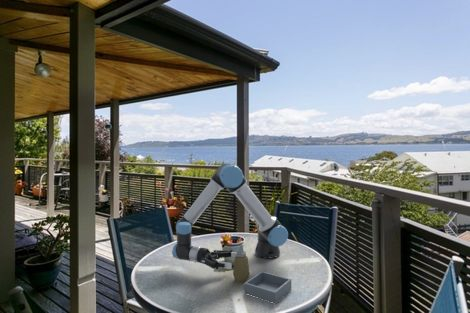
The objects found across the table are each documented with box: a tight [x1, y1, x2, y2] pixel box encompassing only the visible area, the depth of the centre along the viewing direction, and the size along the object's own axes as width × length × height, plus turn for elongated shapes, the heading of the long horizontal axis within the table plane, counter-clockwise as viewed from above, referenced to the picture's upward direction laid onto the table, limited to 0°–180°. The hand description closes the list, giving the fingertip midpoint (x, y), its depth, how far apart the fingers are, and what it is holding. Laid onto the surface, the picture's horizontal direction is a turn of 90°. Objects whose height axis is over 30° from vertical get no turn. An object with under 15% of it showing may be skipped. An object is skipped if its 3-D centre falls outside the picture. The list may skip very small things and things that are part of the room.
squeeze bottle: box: [232, 244, 251, 284], centre depth 151 cm, size 8×8×18 cm
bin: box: [243, 271, 292, 304], centre depth 141 cm, size 16×16×5 cm
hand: (237, 261), depth 151 cm, fingers open, 13 cm apart
